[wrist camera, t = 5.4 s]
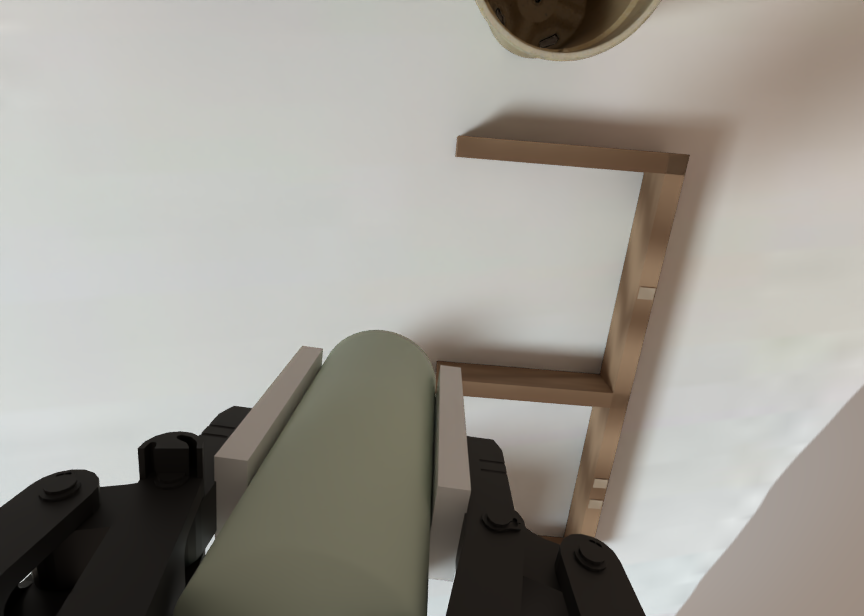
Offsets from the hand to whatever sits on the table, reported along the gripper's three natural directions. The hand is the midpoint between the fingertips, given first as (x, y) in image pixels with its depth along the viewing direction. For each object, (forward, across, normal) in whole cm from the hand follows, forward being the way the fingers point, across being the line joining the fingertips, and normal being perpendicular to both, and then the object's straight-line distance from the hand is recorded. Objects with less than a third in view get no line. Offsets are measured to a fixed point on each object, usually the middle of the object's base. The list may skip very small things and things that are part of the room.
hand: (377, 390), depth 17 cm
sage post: (+1, 0, 0) cm, 1 cm away
